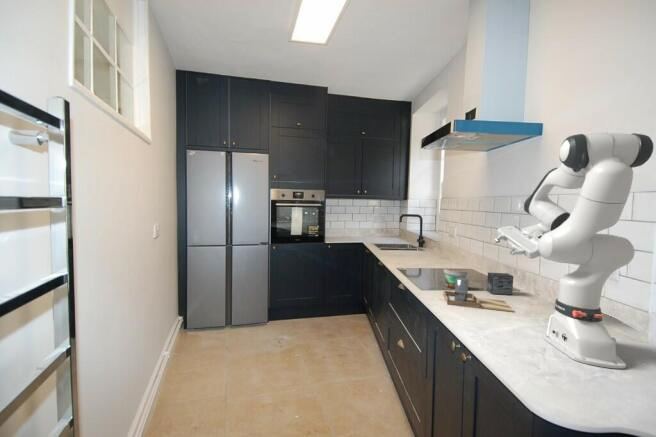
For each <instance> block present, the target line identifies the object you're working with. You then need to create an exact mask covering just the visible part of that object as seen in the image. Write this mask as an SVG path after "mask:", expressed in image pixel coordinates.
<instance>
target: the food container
mask: <svg viewBox="0 0 656 437" xmlns="http://www.w3.org/2000/svg"><path fill="white" fill-rule="evenodd" d="M443 273H444V281H445V282H444V283H445V287H446V288H448V289H451V290H455V285H456V278H458V277H460V278H466V279H467V277H466V276H468V271H467V270H466V271H460V270H456V269H454V270H453V269H452V270H451V269H450V270H448V269H446V268H444V269H443Z"/></svg>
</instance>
